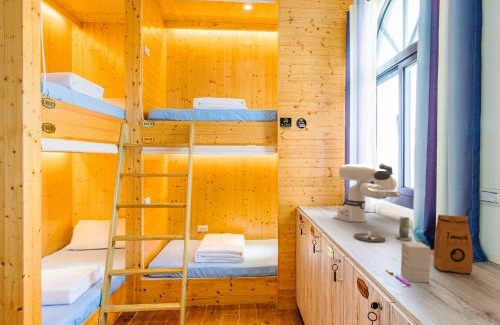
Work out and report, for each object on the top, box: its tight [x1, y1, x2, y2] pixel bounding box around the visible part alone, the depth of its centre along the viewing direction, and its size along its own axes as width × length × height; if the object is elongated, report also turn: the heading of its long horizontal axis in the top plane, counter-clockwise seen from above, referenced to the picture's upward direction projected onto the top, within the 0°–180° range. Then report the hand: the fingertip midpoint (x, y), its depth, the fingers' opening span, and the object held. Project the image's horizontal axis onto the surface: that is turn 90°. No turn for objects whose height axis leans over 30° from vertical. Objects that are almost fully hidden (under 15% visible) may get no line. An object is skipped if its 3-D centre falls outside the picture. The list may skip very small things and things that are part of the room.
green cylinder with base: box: [395, 216, 413, 242], centre depth 175 cm, size 8×8×12 cm
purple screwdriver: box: [385, 269, 412, 287], centre depth 117 cm, size 3×1×16 cm
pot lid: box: [353, 230, 387, 244], centre depth 174 cm, size 16×16×5 cm
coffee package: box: [433, 214, 474, 274], centre depth 127 cm, size 10×12×22 cm
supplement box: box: [400, 241, 431, 283], centre depth 117 cm, size 7×7×13 cm
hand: (391, 195), depth 186 cm, fingers open, 8 cm apart
